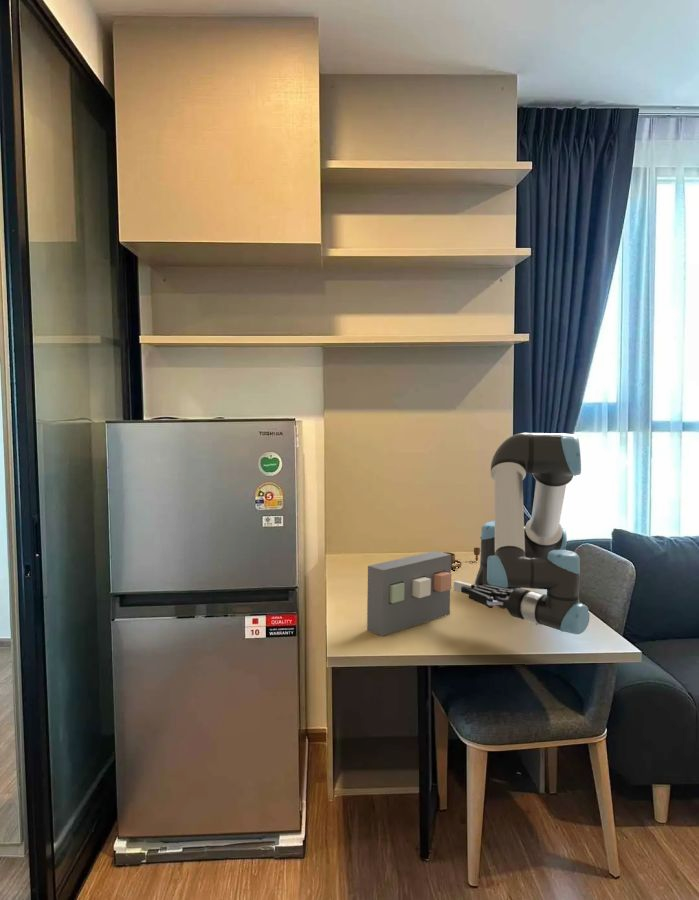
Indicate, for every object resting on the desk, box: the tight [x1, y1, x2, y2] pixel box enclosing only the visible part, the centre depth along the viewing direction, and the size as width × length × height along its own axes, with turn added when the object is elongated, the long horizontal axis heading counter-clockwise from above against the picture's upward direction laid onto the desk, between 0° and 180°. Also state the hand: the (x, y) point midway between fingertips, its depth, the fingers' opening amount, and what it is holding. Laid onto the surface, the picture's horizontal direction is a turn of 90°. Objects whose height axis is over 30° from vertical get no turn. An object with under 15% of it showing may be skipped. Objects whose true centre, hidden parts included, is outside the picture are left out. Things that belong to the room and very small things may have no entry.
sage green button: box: [389, 582, 404, 603], centre depth 182 cm, size 5×6×5 cm
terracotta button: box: [433, 571, 453, 592], centre depth 192 cm, size 5×6×5 cm
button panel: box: [366, 550, 452, 637], centre depth 189 cm, size 28×6×18 cm, turn 132°
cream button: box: [412, 576, 431, 598], centre depth 186 cm, size 5×6×5 cm
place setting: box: [441, 547, 481, 569], centre depth 254 cm, size 18×20×6 cm
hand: (455, 585), depth 188 cm, fingers closed
